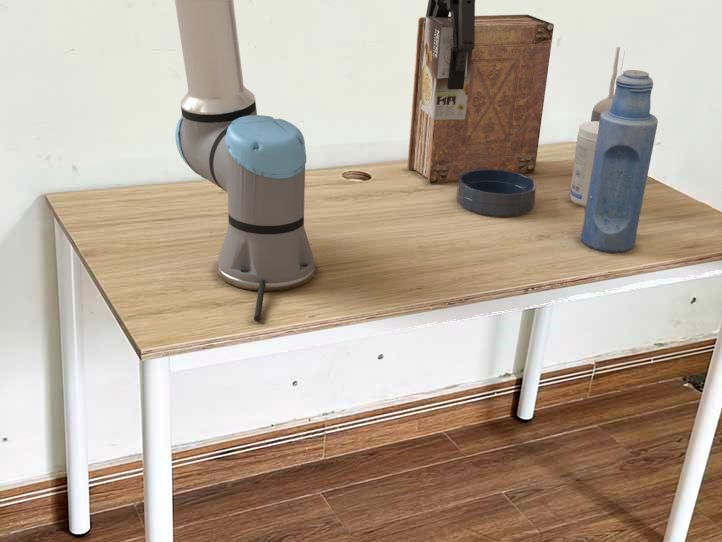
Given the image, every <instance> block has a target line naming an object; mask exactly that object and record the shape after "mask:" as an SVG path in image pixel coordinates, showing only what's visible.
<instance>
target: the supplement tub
mask: <svg viewBox="0 0 722 542" xmlns="http://www.w3.org/2000/svg"><path fill="white" fill-rule="evenodd" d="M598 128H599V121H591V120H590V121H585V122H582V123H580V125H579V127H578V132H577V136H576V144H575V151H574V158H573V159H574V160H573V167H572V175H571V176H572V177H571V184H570V193H569V198H570V200H571V201H572V202H573V203H574V204H576V205H578V206H581V207H584V208H586V204H587V198H588V192H589V185H590V180H591V173H592V167H593V161H594V155H595V148H596V143H597V136H598Z"/></svg>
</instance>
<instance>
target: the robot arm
mask: <svg viewBox="0 0 722 542" xmlns="http://www.w3.org/2000/svg"><path fill="white" fill-rule="evenodd" d="M174 4H175V5H174V6H175V11H176V19H177V24H178V31H179V36H180V37H179V38H180V45H181V50H182V57H183V63H184V70H185V77H186V81H187V82H186V83H187V93H185V95H184V96H183V98H182V99H181V101H180V110H181V116H180V118H179V120H178V121H177V123H176V126H175V133H174V134H175V135H174V136H175V139H174V140H175V144H176V145H175V146H176V148H177V151H178V154H179V156H180V157H181V159H182V160H183V162H184V163H185V164H186V165H187V166H188V167H189V168H190V169H191V171H193V172H194V173H195V174H196V175H199V176H200V177H201V178H203V179H205V180H208V181H209V182H211V184H214V185H215V186H217V187H218V188H220V189H221V190H222V191H224V192H226V193H227V212H228V213H227V214H228V215H227V217H228V220H227V221H228V223H227V224H228V225H227V229H226V232H225V235H224V238H223V240H222V241H223V242H222V244H221V248H220V251H219V254H218V258H217V274H218V276H219V277H220V279H222V280H223V281H224V282H225V283H227V284H229V285H231V286H234V287H237V288H240V289H243V290H244V289H245V290H250V291H257V296H256V297H257V298H256V303H255V311H254V314H253V315H254V316H253V321H255V322H260V320H261V316H262V310H263V304H264V296H265V292H276V291H277V292H278V291H279V292H280V291H286V290H291V289H295V288H298V287H301V286H304V285H306V284H308V283H309V282H310V281H311V280H312V279H313V278H314V277H315V272H316V270H315V268H316V267H315V266H316V265H315V257H314V255H313V251H312V248H311V245H310V242H309V239H308V235H307V232H306V229H305V194H306V193H305V190H306V189H305V188H306V187H305V185H306V184H305V183H306V163H307V151H306V142H305V137H304V135H303V133H302V131H301V130H300V129H299V128H298V127H297V126H296V125H295V124H293V123H291V122H290V121H287V120H285V119H283V118H274V116H271V115H261V114H258V112H257V111H258V110H257V103H256V97H255V94H254V93H253V92H252V91H251V90H250V89H248V88H247V87H245V84H244V77H243V70H242V69H243V68H242V59H241V52H240V43H239V35H238V28H237V19H236V10H235V2H234V0H174ZM427 16H432V17H448V16H451V23H452V26H454V27H453V44H454V47H452V48H451V49H450V51H451V57H450V67H449V78H448V89H449V90H452V89H463V88H464V78H465V68H466V58H467V51H469V50H473V49H474V47H475V16H476V0H428V2H427V7H426V14H425V17H427ZM425 25H426V18H425V24H424V30H425Z"/></svg>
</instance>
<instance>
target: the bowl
mask: <svg viewBox="0 0 722 542" xmlns="http://www.w3.org/2000/svg"><path fill="white" fill-rule="evenodd" d="M537 187H538V184H537V183H536V180H534V179H533V178H531V177H530V176H527V175H524V174H520V173H516V172H512V171H506V170H499V169H477V170H471V171H467V172H464V173H462V174H461V175H460V176H459V177H458V181H457V185H456V197H455V199H456V202H457V204H458V205H459V206H461V207H462V208H463V209H466V210H468V211H470V212H473V213H476V214H478V215H482V216H483V215H484V216H490V217H499V218H500V217H515V216H520V215H524V214H527V213H529V212H531V211H532V210H533V209H534V207H535V202H536V195H537V189H538V188H537Z"/></svg>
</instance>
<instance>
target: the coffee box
mask: <svg viewBox="0 0 722 542" xmlns="http://www.w3.org/2000/svg"><path fill="white" fill-rule="evenodd" d="M425 17H426V16H425ZM453 27H454V26H452V23H451V15H449V16H448V17H432V16H427V17H426V25H425V38H424V51H423V65H422V78H421V89H420V102H419V107H420V108H421V109H422V110H423V111H424V112H426V113H427V114H428V115H429V116H430V117H431V118H432V119H434V120H464V119H465V115H466V107H467V97H468V87H469V78H470V68H471V58H472V50H469V51H467V58H466V68H465V78H464V88H463V89H452V90H449V89H448V78H449V67H450V57H451V51H450V49H451V48H452V47H454V44H453Z"/></svg>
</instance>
